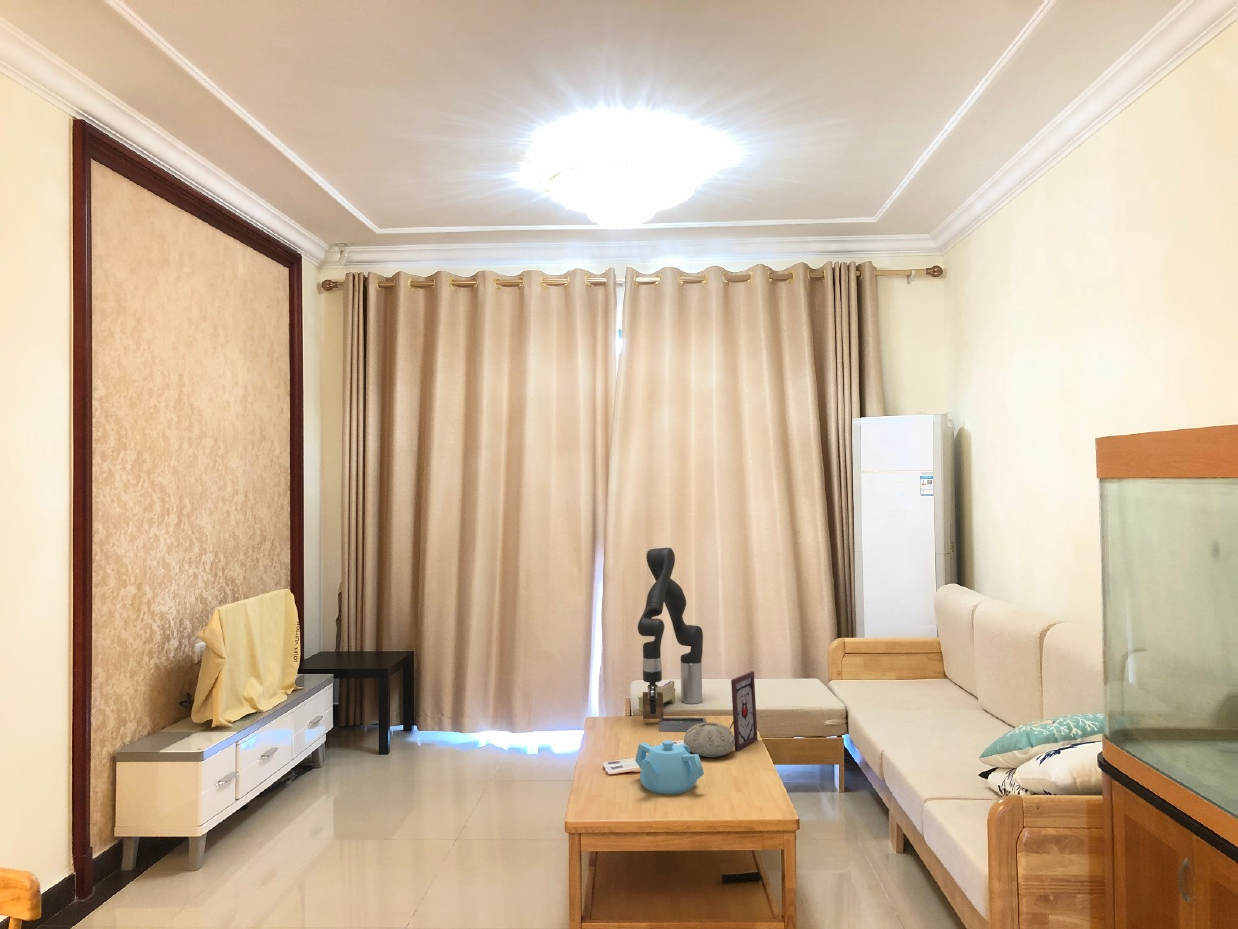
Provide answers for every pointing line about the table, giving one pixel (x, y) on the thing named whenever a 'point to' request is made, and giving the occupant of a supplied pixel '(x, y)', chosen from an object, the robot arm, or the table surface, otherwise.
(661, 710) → the door panel
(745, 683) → the picture frame
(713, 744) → the decorative shell
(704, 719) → the tray
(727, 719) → the table surface
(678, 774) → the teapot
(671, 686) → the toy sofa
